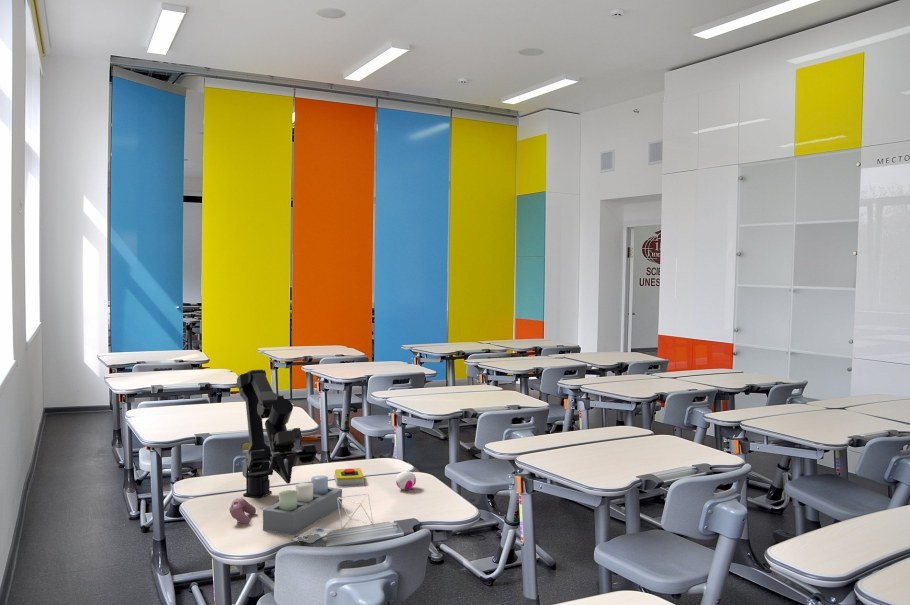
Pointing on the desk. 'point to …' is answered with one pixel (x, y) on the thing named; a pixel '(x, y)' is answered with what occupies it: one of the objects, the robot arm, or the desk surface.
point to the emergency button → (349, 477)
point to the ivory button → (304, 492)
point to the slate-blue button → (320, 485)
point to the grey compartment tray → (301, 513)
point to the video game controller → (241, 510)
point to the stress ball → (406, 480)
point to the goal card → (313, 532)
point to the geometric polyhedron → (356, 509)
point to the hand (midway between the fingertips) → (288, 482)
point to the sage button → (288, 500)
